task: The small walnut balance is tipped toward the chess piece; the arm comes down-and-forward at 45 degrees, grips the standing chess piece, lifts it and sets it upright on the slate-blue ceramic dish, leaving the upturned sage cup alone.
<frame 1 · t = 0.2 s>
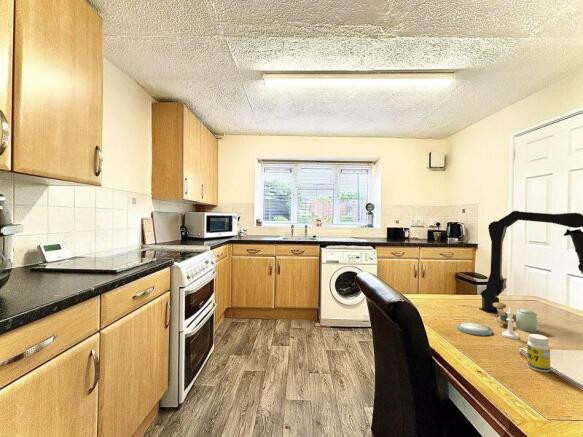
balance: (501, 321, 120), on the table
chess piece: (510, 336, 104), on the table
dish: (474, 330, 110), on the table
supplement bottle: (538, 369, 81), on the table
sage cup: (526, 328, 112), on the table
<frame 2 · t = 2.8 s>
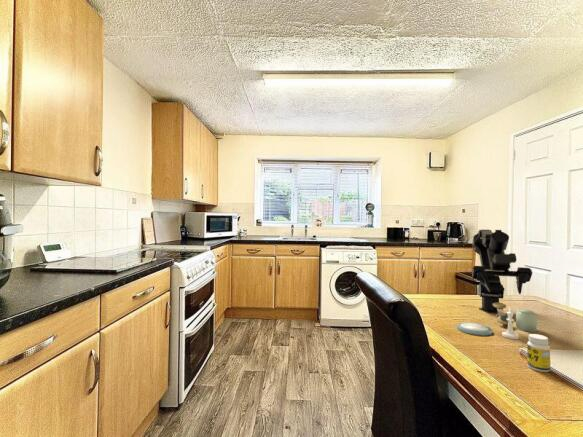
hand: (504, 292, 112), 13 cm above the table, tool tilted 45°, fingers open, 9 cm apart
nothing on the table moved.
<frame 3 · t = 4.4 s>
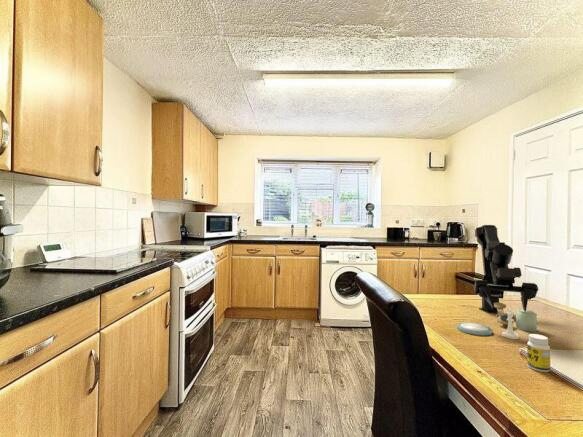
hand: (509, 309, 106), 9 cm above the table, tool tilted 45°, fingers open, 9 cm apart
nothing on the table moved.
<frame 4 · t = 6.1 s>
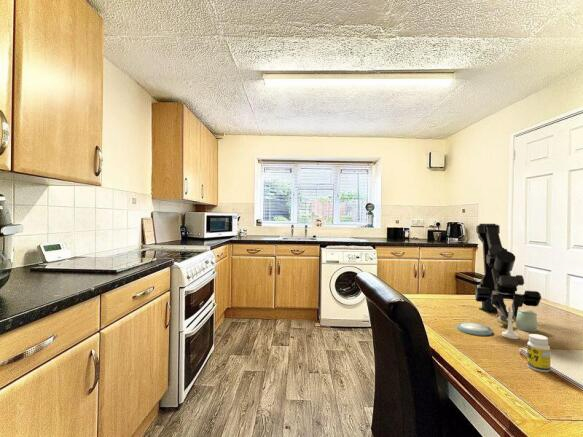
hand: (511, 318, 103), 7 cm above the table, tool tilted 45°, fingers closed on chess piece
chess piece: (510, 336, 104), on the table, touching gripper
everything else where it was.
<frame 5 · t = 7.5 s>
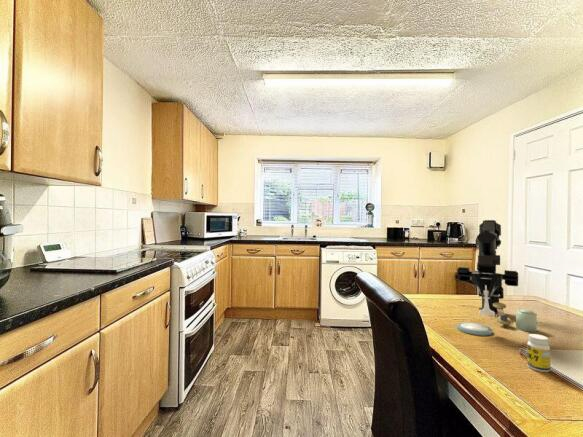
hand: (485, 295, 107), 13 cm above the table, tool tilted 45°, fingers closed on chess piece
chess piece: (486, 314, 108), point 6 cm above the table, touching gripper
everything else where it was.
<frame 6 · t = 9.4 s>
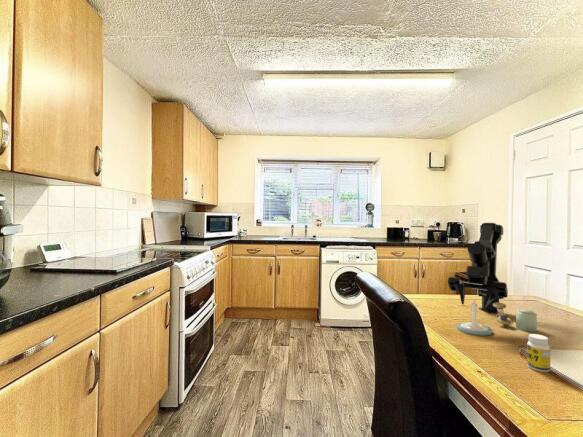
hand: (473, 305, 109), 9 cm above the table, tool tilted 45°, fingers open, 7 cm apart
chess piece: (474, 327, 110), point 1 cm above the table, touching dish
everything else where it was.
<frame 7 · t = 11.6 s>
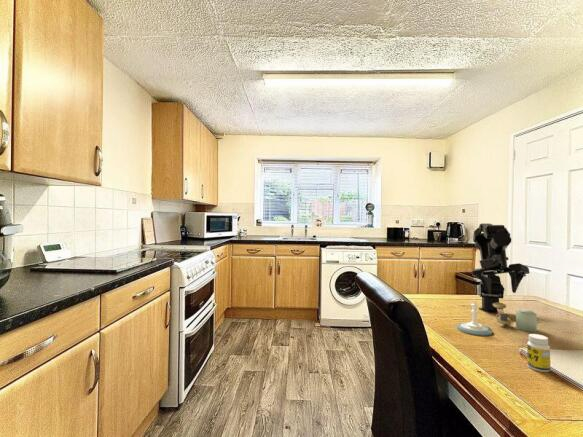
hand: (501, 293, 117), 12 cm above the table, tool tilted 20°, fingers open, 9 cm apart
nothing on the table moved.
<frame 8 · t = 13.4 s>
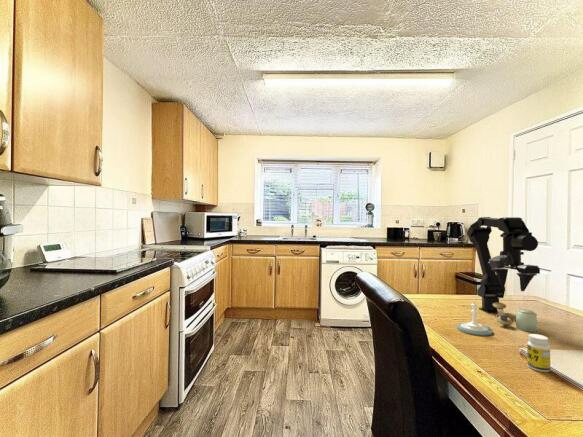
hand: (512, 288, 120), 13 cm above the table, tool pointing down, fingers open, 9 cm apart
nothing on the table moved.
at the end: chess piece 0.2 cm from the dish (horizontally); chess piece tilted 0°; the gripper is holding nothing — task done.
